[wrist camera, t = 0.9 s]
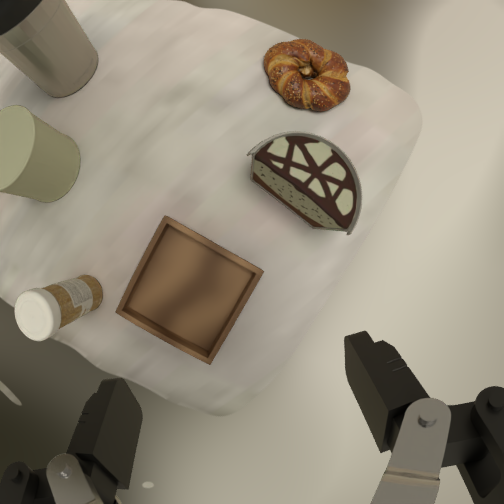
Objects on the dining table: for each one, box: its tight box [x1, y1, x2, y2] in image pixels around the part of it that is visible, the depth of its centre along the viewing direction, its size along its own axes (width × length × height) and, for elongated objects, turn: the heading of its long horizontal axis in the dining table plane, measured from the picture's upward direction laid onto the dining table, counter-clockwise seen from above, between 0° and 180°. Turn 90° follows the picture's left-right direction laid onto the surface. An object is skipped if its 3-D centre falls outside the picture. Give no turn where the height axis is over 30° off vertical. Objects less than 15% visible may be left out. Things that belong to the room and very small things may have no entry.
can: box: [0, 105, 80, 202], centre depth 28 cm, size 9×9×12 cm
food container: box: [247, 131, 362, 235], centre depth 32 cm, size 12×6×10 cm, turn 53°
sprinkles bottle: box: [15, 275, 102, 341], centre depth 28 cm, size 5×5×13 cm
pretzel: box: [264, 39, 350, 111], centre depth 35 cm, size 12×11×4 cm
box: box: [116, 216, 264, 365], centre depth 35 cm, size 12×12×3 cm
